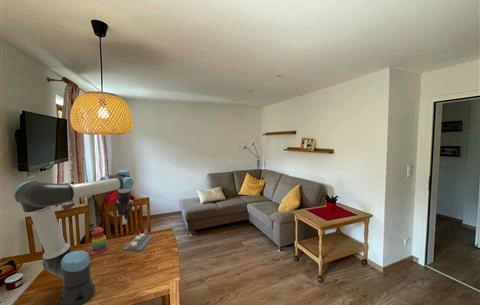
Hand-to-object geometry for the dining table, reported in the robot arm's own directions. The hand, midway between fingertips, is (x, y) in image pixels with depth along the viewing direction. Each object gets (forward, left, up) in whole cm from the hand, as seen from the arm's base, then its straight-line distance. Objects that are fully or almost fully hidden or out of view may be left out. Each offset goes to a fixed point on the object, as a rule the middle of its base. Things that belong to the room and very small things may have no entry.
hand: (124, 223), depth 151 cm
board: (+12, -3, -22) cm, 26 cm away
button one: (+6, -3, -21) cm, 22 cm away
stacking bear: (+2, +22, -23) cm, 32 cm away
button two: (+12, -3, -20) cm, 23 cm away
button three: (+19, -3, -21) cm, 28 cm away
